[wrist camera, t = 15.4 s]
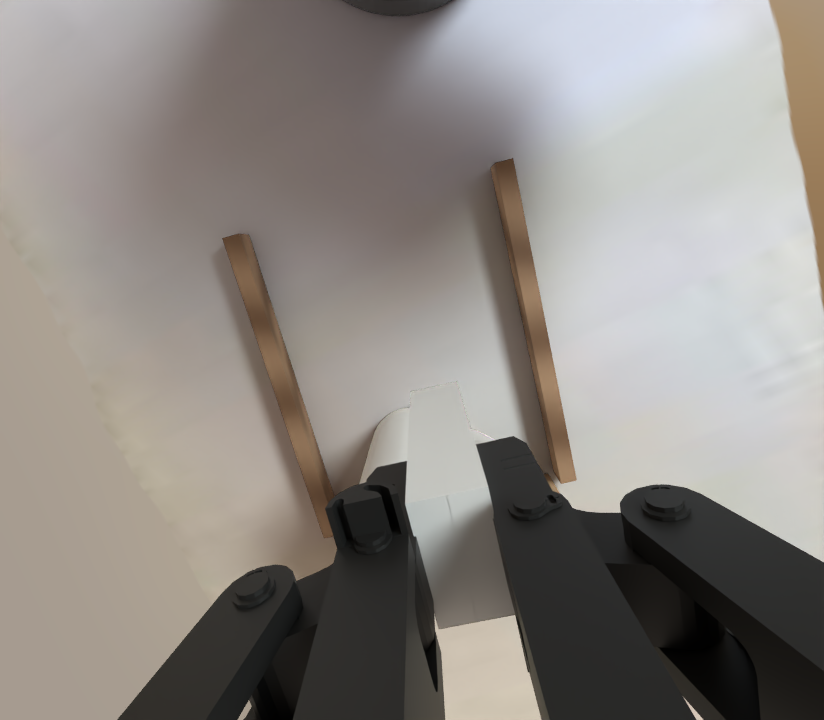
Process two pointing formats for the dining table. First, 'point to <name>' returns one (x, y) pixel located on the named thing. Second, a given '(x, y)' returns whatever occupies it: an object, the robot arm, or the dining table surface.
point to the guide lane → (287, 384)
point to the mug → (396, 442)
